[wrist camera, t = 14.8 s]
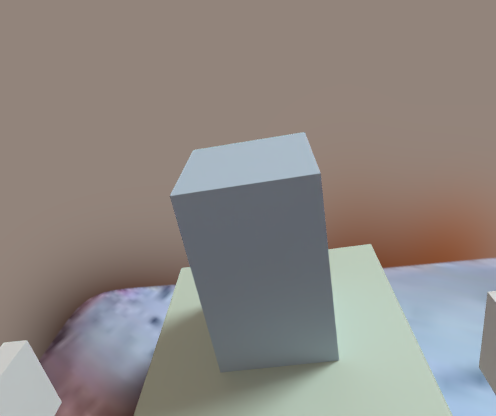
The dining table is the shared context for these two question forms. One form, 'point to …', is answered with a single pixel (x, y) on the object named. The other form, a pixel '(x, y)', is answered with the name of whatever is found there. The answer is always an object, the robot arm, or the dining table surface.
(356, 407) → the top brick
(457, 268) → the dining table surface
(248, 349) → the tall brick
